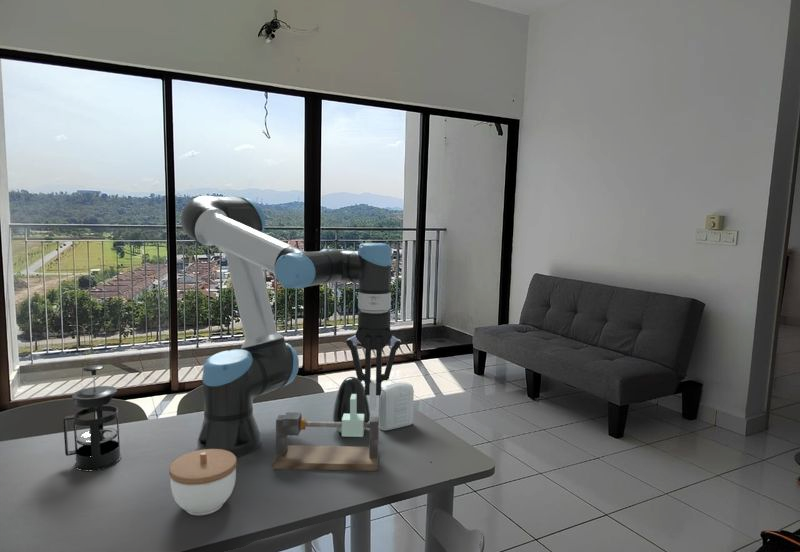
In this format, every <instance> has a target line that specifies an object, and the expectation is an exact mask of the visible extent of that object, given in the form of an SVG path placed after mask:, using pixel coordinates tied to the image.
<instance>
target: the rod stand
mask: <svg viewBox="0 0 800 552" xmlns="http://www.w3.org/2000/svg"><path fill="white" fill-rule="evenodd" d="M306 419H307V418H304V417H303V418H302V412H294V411H293V412H291V411H289V412H285V414H279V415H278V416H277V418H276V419H275V439H276V440H275V441H276V442H275V444H276V449H275V450H276V454H275V455H276V456H275V458H274V460H273V465H272V466H273V467H272V468H273V469H274V470H275V469H281V470H319V471H320V470H322V471H323V470H324V471H326V470H328V471H329V470H330V471H332V470H333V471H371V472H372V471H374V472H375V471H378V466H379V454H380V446H379V439H380V438H379V437H380V436H379V433H380V431H379V430H380V428H379V416H370V421H369V423H364V424H363V428H366V429H369V446H354V445H353V446H352V445H351V446H348V445H346V446H344V445H342V446H341V445H298V444H296V445H294V444H291V445H290V444H288V436H299V435H300V433H301V430H303V431H305V430H306V427H307V428H308V427H309V428H336V427H342V422H334V421H307V420H306Z"/></svg>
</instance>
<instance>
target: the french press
mask: <svg viewBox="0 0 800 552" xmlns="http://www.w3.org/2000/svg"><path fill="white" fill-rule="evenodd" d="M104 367H105V366H104V365H101V364H95V365H94V364H93V365H88V366H85V367H84V368H82V371H84V372H91V376H92V379H93V380H92V381H93V386H91V387H90V386H89V387H87V388H82V389H79V390H77V391H75V392H73V393H72V394H71V397H72V399H73V400H74V407H75V406H76V407H77V408H83V409H80V410H78V411H76V412H74V414H73V415H72V414H71V415H66V416H64V418H63V422H62V423H63V424H62V425H63V435H64V438H63V440H64V452H65V456H67V457H68V456H74V455H75V463H74V465H75V466H76V467H75V466H74V467H75V469H77V468H78V469H81V470H88V471H87V472H90V471H89V470H96V471H99V470H98V469H101V470H104V469H103V468H105V469H107V468H106V467H108V468H110V467H112V466H111V465H113V464H114V465H116V464H118V463H119V462H120V461H121V460H120V459H122V454H121V445H120V425H119V424H120V423H119V409H118V408H119V407H116V406H114V405H108V404H109V403H110V402H111V400H112V398H113V397H114V395H115V394H116V393H117V392H118V389H117V387H116V386H115V387H114V386H111V385H99V386H98V385H96V375H97V371H101V370H103V369H104ZM103 412H112V414H110V415H107V416H105V417H103V416H104V414H103ZM92 413H93V416H94V419H79V418H80V417H82V416H85V415H88V414H92ZM115 419H116V428H110V427H105V428H104V424H106V423H108V422H109V423H110V422H112V421H114V420H115ZM68 420H73V430H74V431H73V433H74V447H75V448H74V449H75V450H69V443H68V426H67V421H68ZM77 426H81V427H82V426H83V427H86V426H87V427H88V426H89V430H87V431H84V432H83V433H81V434H79V435H77ZM116 437H117V440H115V438H116ZM78 445H80V446H79V447H78ZM100 453H106V454H100ZM90 456H91V457H90ZM119 460H120V461H119ZM118 461H119V462H118ZM117 462H118V463H117ZM115 463H116V464H115ZM114 465H113V466H114ZM109 466H110V467H109ZM78 469H77V470H78ZM81 470H80V471H81Z"/></svg>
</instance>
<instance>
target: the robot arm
mask: <svg viewBox="0 0 800 552" xmlns="http://www.w3.org/2000/svg"><path fill="white" fill-rule="evenodd" d="M180 223H181V224H180V225H181V227H182V229H183V231H184V233H185V234H186V235H187V236H188V237H189V238H191V240H193V241H195V242H197V243H199V244H201V245H203V246H207V247H210V246H216V247H217V249H218V250H219V251H220V252H221V253H223V254H224V255H225V258H226V261H227V266H228V271H229V276H230V280H231V284H232V288H233V293H234V297H235V301H236V305H237V308H238V309H237V310H238V314H239V317H240V323H241V326H242V330H243V334H244V341H243V343H242V345H241V348H240V349H231V350H223V351H220V352H217V353H215V354H213V355H211V356H209V357H208V358H207V359H206V360H205V361H204V363H203V366H202V367H203V368H202V370H203V371H202V377H201V379H202V380H201V381H202V384H203V385H202V386H203V389H202V390H203V421H202V425H201V428H200V429H199V430H200V431H199V433H198V438H197V442H196V443H197V451H198V450H204V449H222V450H226V451H229V452H231V453H233V454H234V455H235V456H236V458H237V457H241V456H245V455H247V454H249V453H251V452H254V451H255V450H256V449H258V447H259V446H260V444H261V431H260V429H259V425H258V423H257V421H256V417H255V416H254V412H253V410H254V408H253V407H254V406H253V403H254V401H253V400H254V399H255V398H257V397H259V396H263V395H265V394H268V393H270V392H273V391H275V390H281V389H282V388H284V387H285V386H287V385H289V384H291V383H292V382H293V381H294V380H295V379H296V376H297V374H298V373H299V368H300V359H299V356H298V352H297V350H296V349H295V348H293V346H292V345H291V344H290V343H287V342H286V340H285V339H286V338H285V335H282V334H281V333H279V332H278V329H277V327H276V323H275V322H276V321H275V317H274V313H273V309H272V305H271V300H270V296H269V292H268V288H267V283H266V279H265V274H264V271H267V272H269V273H271V274H273V275H274V276H275V278H276V280H277V281H278V283H279V284H280V285H281V286H282V287H284V288H286V289H291V290H292V289H300V290H301V289H304V288H307V287H314V286H319V285H325V284H331V283H338V282H344V283H345V282H346V283H347V282H348V283H354V284H355V283H357V284H358V285H357V286H358V287H357V288H358V289H357V290H358V294H357V299H358V301H357V308H358V309H359V311H358V312H357V330H356V332H355V334H354V335H353V336H351V337H348V338H347V339H346V341H345V342H346V343H345V344H346V345H347V346H348V349H349V350H350V353H351V358H352V361H353V365H354V370H355V371H354V372H355V373H356V374H355V375H356V378H357V379H358V380H363V381H362V382H364V389H365V395H367V396H369V397H368V398H369V399H368V402H369V410H370V411H376V410H377V396H378V397H379V396H380V395H381V389H382V383H383V382H384V381H388V380H389V379H390V376H391V372H392V369H393V368H392V367H393V366H394V365H393V364H394V361H395V358H396V357H395V356H396V354H397V353H396V352H397V351H398V349H399V348H400V346H401V345H402V340H401V339H400V338H397V337H395V336H394V335H393V332H392V330H391V311H390V309H391V305H392V304H391V303H392V291H391V290H392V289H391V285H392V284H391V282H392V265H393V261H392V248H391V246H390V245H389V244H388V243H384V242H363V243H360V244H359V246H358V250H347V249H338V248H322V249H321V250H319V251H318V250H317V251H306V250H303V249H300V248H298V247H296V246H293V245H292V244H289V243H287V242H285V241H282V240H281V239H278V238H275V237H273V236H271V235H270V234H266V233H265V227H266V226H267V225H266V223H267V222H266V216H265V212H264V210H263V208H262V207H261V206H260V205H259V203H258V202H257V201H255V200H253V199H251V198H249V197H242V196H217V195H216V196H214V195H213V196H212V195H201V196H197V197H195V198H193V199H191V200H190V201H188V202H187V203H186V204H185V206H184V207H183V209H182V212H181V214H180ZM263 270H264V271H263ZM358 342H359V343H360V345H361V346H362V348H363V349H364V351H365V352H364V354H365V355H364V358H365V359H364V373H363V368H362V362H361V359H360V355H359V351H358V347H357V345H358ZM389 342H390V343H389ZM388 343H389V345H390V346H391V347H390V352H389V355H388V359H387V362H386V365H385V370H384V373H382V370H383V369H382V367H383V363H382V362H383V360H382V358H383V349H384V348H385V347H386V346H387V344H388ZM372 350H375V357H376V359H375V360H376V361H375V379H371V378H372V377H371V373H372V371H371V370H372Z"/></svg>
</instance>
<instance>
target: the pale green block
mask: <svg viewBox="0 0 800 552" xmlns="http://www.w3.org/2000/svg"><path fill="white" fill-rule="evenodd" d="M363 424H364V414H357V394H352V395H351V398H350V414H345V413H344V414H343V418H342V433H341V437H349V438H350V437H351V438H352V437H354V438H357V437H359V438H363V437H364V434H365V430H364V428H363Z"/></svg>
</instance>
